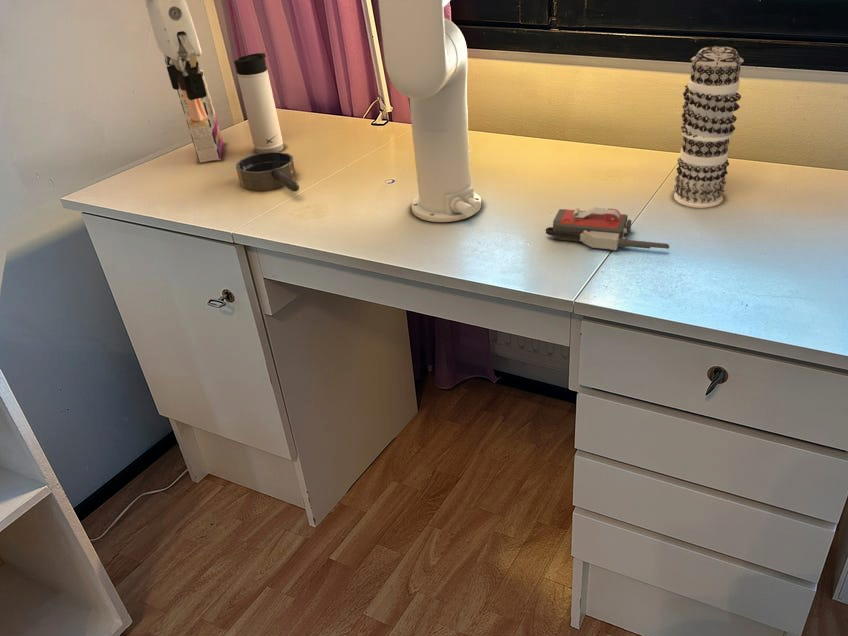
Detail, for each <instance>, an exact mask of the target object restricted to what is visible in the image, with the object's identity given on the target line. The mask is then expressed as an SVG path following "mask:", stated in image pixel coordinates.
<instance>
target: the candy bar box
mask: <svg viewBox="0 0 848 636" xmlns="http://www.w3.org/2000/svg"><path fill="white" fill-rule="evenodd" d="M200 71H201V75H202V79H203V82H204V86H205V90H206V94H207V96H206V97H203V98H200V100H201V102H202V104H203V107H204V109H205V112H206V114H207V118H205V119H204V120H207V121H208V122H209V125H207V126H203V127H194V126H193V125H190V124H189V121H190V120H191V119H190V117H189V111H188V105H187V103H186V101H185V98H184V95H183V92H182V90H180V89H177V90H176V91H177V94H178V97H179V98H178V99H179V101H180V104H181V107H182V108H181V109H182V111H183V114H184V117H185V121H186V124H187V127H188V131H189V134H190V136H191V140H192V144H193V147H194V150H195V154H196V157H197V160H198V163H199V164H205V163H212V162H218V161H222V155H223V148H224V139H223V137H222V133H221V130H220V125H219V122H218V119H217V116H216V115H217V114H216V112H215V108H214V104H213V101H212V97H211V93H210V90H209V85H208V83H207V79H206V76H205V72H204V69H200Z"/></svg>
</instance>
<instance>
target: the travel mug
mask: <svg viewBox="0 0 848 636" xmlns="http://www.w3.org/2000/svg"><path fill="white" fill-rule="evenodd" d="M266 57H267V56H266V53H265V52H257V53H252V54H247V55H244V56H240V57H239V58H238V59H235V60H234V68H235V71H236V76H237V80H238V86H239V88H240V93H241V97H242V102H243V106H244V110H245V114H246V118H247V122H248V127H249V131H250V136H251V139H252V144H253V148H254V151H255V153H256V154H258V153H265V152H282V151H283V150H284V147H285V146H284V142H283V137H282V131H281V127H280V122H279V117H278V113H277V108H276V104H275V98H274V93H273V90H272V85H271V80H270V75H269V71H268V67H267V63H266Z"/></svg>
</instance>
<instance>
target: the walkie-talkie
mask: <svg viewBox="0 0 848 636" xmlns="http://www.w3.org/2000/svg"><path fill="white" fill-rule="evenodd" d="M631 229H632V219H628V214H626V213H620V211H619V210H618V209H615V208H605V207H595V206H594V207H591V208H590V209H588V210H580V208H579V207H575V209H569V208H562V209H560V208H559V209H558V210H557V213H556V215H555V217H554V218H553V222H552V226H549V227H547V228H545V234H546V235H548V236H552V238H553V239H555V240H558V241H568V242H577V243H583V244H584V245H586V246H588V247H589V248H593V249H604V250H610V251H617V250H618V247H620V248H626V247H630V248H640V249H651V248H654V249H665V250H666V249H667V250H668V249H670V244H669V243H664V242H656V241H655V242H654V241H646V240H645V241H644V240H632V239H627V237H626V236H625V235H627V234H628V233H631Z"/></svg>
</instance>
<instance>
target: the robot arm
mask: <svg viewBox="0 0 848 636" xmlns="http://www.w3.org/2000/svg"><path fill="white" fill-rule="evenodd" d="M144 1H145V6H146V9H147V13H148V17H149V21H150V25H151V29H152V31H153V35H154V39H155V42H156V44H157V48H158V50H159V52H161V53H162V54H163V58H164V63H165V65H166V70H167V74H168V77H169V80H170V84H171V87H172V89H173V90H175V91H177V89H179V84H178V82H177V77H178V73H179V70H177V69H176V67H175V65H171V64H170V63H169V62H170V59H171V58H172V59H174V60H176V61H178V63H179V66H180V68H181V70H182V73H183V75H184V76H182V79H183V83H184V86H185V90H186V94H187V97H188V99H189V100H194V99H198V98H203V97H206V96H207V94H206V90H205V86H204V82H203V79H202V75H201V71H200V70H201V67H200V66H199V65H200V63H199V62H198V60H197V57H201V56H202V54H203V51H202V48H201V47H202V46H201V45H200V40H199V37H198V34H197V30H196V28H195V27H196V26H195V24H194V21H193V17H192V14H191V12H190V8H189V6H188V3H187V1H186V0H144ZM377 1H378V11H379V19H380V20H379V21H380V28H381V29H380V30H381V39H382V47H383V48H382V50H383V57H384V64H385V69H386V73H387V76H388V78H389V80H390V83H391V84H392V85H393V87H394V88H395V90H397V91H398V92H399V93H400V94H401V95H403V96H404V97H406V98H408V99H409V113H410V123H411V125H410V126H411V134H412V135H411V136H412V145H413V153H414V161H415V162H414V164H415V171H416V180H417V190H418V195H417V196H416V197H415V198H414V199H413V200H412V201H411V203H410V205H411V206H410V207H411V212H412V214H413V215H414V216H415V217H417V218H419V219H420V220H423V221H427V222H432V223H451V222H457V221H462V220H465V219H468V218H470V217H472V216H474V215H475V214H477V213H478V212H479V211H480V210H481V208H482V199H481V196H480V195H479V194H478V193H476V192H475V189H474V187H472V185H473V184H472V169H471V155H470V154H471V152H470V139H469V138H470V137H469V117H468V115H469V114H468V91H467V89H468V87H467V84H468V48H467V43H466V40H465V37H464V34H463V33H462V31H461V30H460V28H459V27H458V26H457V25H456V24H455V23H454V22H453V21H452V20H449V18H445V10H444V9H445V8H444V7H445V6H447V4H448V3H449V2H450V1H451V0H377ZM183 54H186V55H185V56H179V55H183ZM185 61H186V63H185V64H186V66H185V65H184V63H183V62H185Z"/></svg>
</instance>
